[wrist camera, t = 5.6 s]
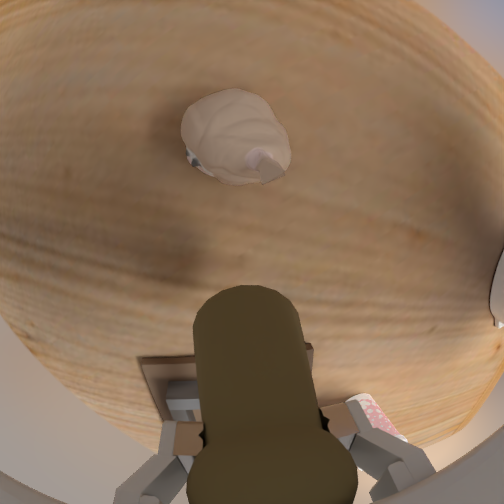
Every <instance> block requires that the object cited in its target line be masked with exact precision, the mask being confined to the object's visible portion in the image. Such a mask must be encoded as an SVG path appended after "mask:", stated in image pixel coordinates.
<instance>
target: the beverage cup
mask: <svg viewBox="0 0 504 504" xmlns="http://www.w3.org/2000/svg"><path fill="white" fill-rule="evenodd" d="M354 399H356V400H358V401H359V403H360V405H361V407H362V409H363V410H364V412H365V414H366V416H367V418H368V420H369V421H370V423H371V425H372V427H373V428H376V427H377V428H379V429H381V430H383V431H385V432H387V433H389V434H391V435H393V436H395V437H397V438H399V439H401V440H403V441H405V442H407V443H408V441H407V439H406V438H405V437H404V435H400V434H399V432H398V431H397V430H396V428H395V427H394V426H393V424H392V423H391V422H390V420H389V419H388V418H387V417H386V415H385V414H384V413H383V411H382V410H381V409H380V407H379V406H378V405H377V403H376V402H375V401H374V400H373V398H372V397H371V396H370V394H367V393H362V394H358V395H355V396H353V397H351V398H350V399H348V400H347V401H351V400H354ZM347 401H346V402H347ZM358 469H360V468H359V467H358ZM360 470H361V471H363V470H362V469H360Z"/></svg>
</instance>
